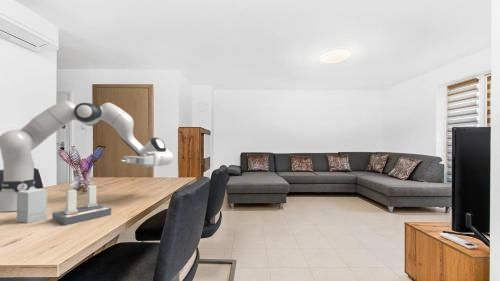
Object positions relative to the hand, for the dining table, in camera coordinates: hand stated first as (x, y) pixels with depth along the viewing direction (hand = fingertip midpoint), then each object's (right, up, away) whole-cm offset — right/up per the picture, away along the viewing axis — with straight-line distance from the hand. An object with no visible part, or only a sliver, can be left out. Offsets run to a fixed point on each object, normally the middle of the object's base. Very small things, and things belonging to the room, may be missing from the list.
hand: (123, 160), depth 126 cm
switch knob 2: (-9, -20, -13) cm, 26 cm away
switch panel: (-8, -24, -19) cm, 31 cm away
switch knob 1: (-10, -20, -24) cm, 33 cm away
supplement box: (-27, -24, -23) cm, 43 cm away
